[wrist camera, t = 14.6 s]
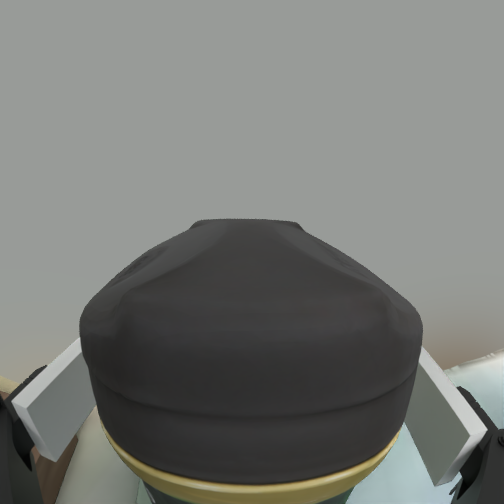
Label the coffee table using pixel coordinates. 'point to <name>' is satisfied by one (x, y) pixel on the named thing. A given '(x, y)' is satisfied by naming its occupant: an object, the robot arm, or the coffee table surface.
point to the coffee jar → (250, 366)
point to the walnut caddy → (51, 468)
